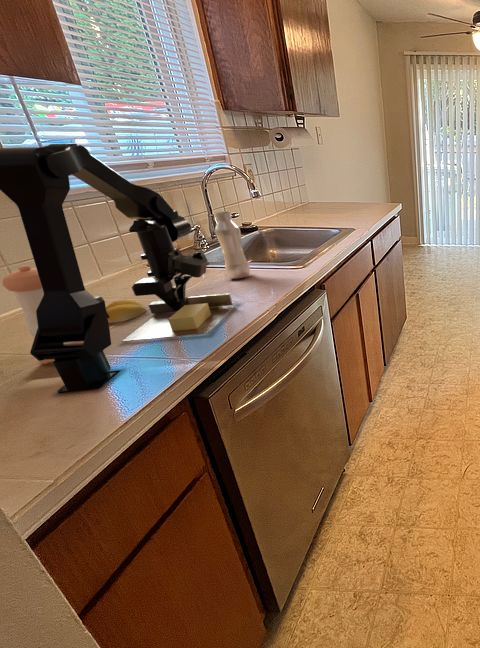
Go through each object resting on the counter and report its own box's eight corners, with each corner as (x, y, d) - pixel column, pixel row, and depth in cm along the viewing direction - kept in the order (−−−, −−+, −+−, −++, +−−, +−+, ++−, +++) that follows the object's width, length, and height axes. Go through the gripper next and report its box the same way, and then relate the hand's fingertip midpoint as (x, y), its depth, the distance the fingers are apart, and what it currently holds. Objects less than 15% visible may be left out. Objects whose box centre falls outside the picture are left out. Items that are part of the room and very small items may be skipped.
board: (209, 336, 88) (208, 333, 88) (122, 344, 85) (121, 341, 85) (237, 305, 104) (236, 302, 104) (165, 311, 101) (164, 308, 101)
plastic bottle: (235, 274, 128) (218, 210, 119) (256, 274, 127) (240, 210, 119) (223, 280, 122) (203, 214, 114) (244, 281, 122) (226, 214, 113)
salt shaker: (42, 356, 81) (-7, 266, 73) (90, 343, 86) (49, 258, 78) (45, 369, 77) (-6, 275, 69) (95, 354, 82) (52, 265, 74)
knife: (234, 303, 102) (230, 292, 101) (231, 306, 100) (227, 295, 99) (156, 310, 99) (152, 299, 98) (151, 313, 97) (147, 302, 96)
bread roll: (104, 328, 93) (97, 313, 91) (104, 316, 99) (97, 301, 97) (148, 318, 98) (142, 303, 96) (146, 307, 104) (140, 293, 102)
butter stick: (196, 328, 90) (192, 316, 89) (172, 331, 89) (167, 319, 88) (211, 314, 97) (207, 303, 96) (188, 316, 96) (184, 305, 95)
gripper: (177, 256, 86) (199, 321, 92) (212, 236, 103) (229, 292, 109) (118, 259, 84) (145, 326, 90) (164, 239, 101) (184, 296, 107)
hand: (180, 308), depth 99 cm, fingers closed on knife, 2 cm apart
